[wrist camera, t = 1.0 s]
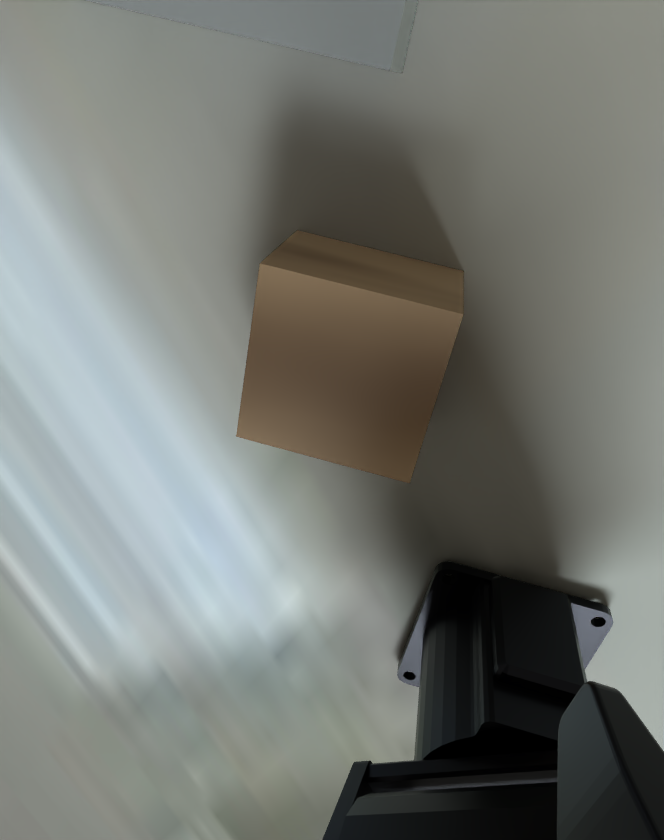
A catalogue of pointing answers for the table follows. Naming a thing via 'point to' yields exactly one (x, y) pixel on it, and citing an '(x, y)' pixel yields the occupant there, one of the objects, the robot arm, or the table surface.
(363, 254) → the block
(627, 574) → the table surface
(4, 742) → the table surface
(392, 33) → the base
